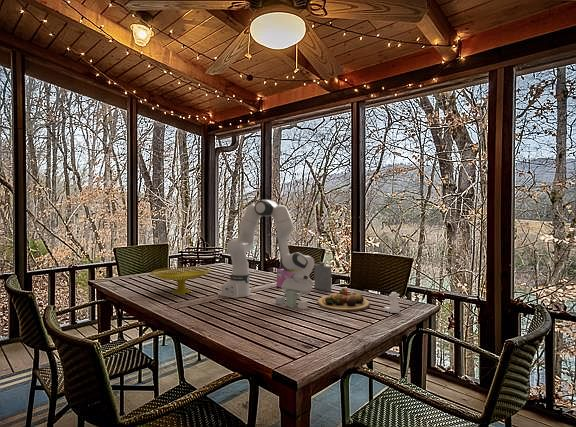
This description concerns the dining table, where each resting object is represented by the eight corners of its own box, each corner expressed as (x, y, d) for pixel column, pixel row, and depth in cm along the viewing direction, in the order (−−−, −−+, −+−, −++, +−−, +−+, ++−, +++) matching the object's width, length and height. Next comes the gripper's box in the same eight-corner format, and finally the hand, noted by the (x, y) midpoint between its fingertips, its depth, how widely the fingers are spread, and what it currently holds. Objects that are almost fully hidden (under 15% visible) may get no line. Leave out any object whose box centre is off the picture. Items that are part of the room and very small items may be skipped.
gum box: (301, 282, 283) (301, 265, 283) (307, 284, 276) (307, 267, 276) (276, 286, 269) (276, 268, 269) (282, 288, 262) (282, 270, 262)
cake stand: (189, 302, 222) (189, 278, 222) (137, 296, 235) (137, 274, 235) (221, 288, 260) (221, 268, 260) (174, 284, 273) (174, 264, 273)
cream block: (298, 308, 211) (298, 301, 210) (301, 306, 214) (302, 300, 214) (303, 309, 208) (303, 302, 208) (307, 307, 211) (307, 301, 211)
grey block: (275, 303, 221) (275, 297, 221) (279, 302, 224) (279, 295, 224) (281, 304, 218) (281, 298, 218) (284, 303, 222) (284, 296, 221)
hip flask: (332, 291, 254) (332, 263, 254) (328, 291, 252) (328, 263, 251) (316, 287, 266) (316, 260, 266) (312, 287, 264) (312, 261, 263)
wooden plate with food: (327, 296, 241) (327, 284, 241) (374, 301, 227) (374, 288, 227) (309, 309, 212) (309, 295, 212) (362, 315, 198) (362, 301, 198)
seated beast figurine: (398, 309, 208) (398, 289, 208) (405, 314, 200) (405, 293, 200) (382, 310, 207) (383, 290, 207) (389, 314, 198) (389, 293, 198)
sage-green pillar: (286, 305, 216) (286, 291, 215) (290, 304, 219) (290, 290, 219) (292, 306, 213) (292, 292, 213) (296, 305, 216) (296, 291, 216)
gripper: (285, 273, 228) (275, 291, 220) (311, 277, 215) (302, 296, 208) (289, 279, 231) (279, 297, 224) (315, 283, 219) (306, 302, 211)
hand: (291, 297), depth 216 cm, fingers open, 8 cm apart
